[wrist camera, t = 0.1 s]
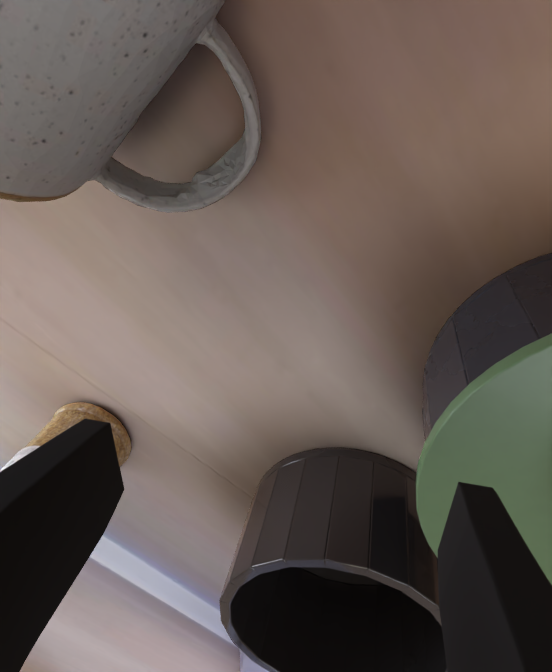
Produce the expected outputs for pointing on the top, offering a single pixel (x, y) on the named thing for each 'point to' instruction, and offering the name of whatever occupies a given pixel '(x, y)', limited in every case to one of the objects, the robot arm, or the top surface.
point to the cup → (335, 570)
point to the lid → (496, 449)
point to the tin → (487, 332)
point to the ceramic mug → (106, 96)
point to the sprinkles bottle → (72, 416)
